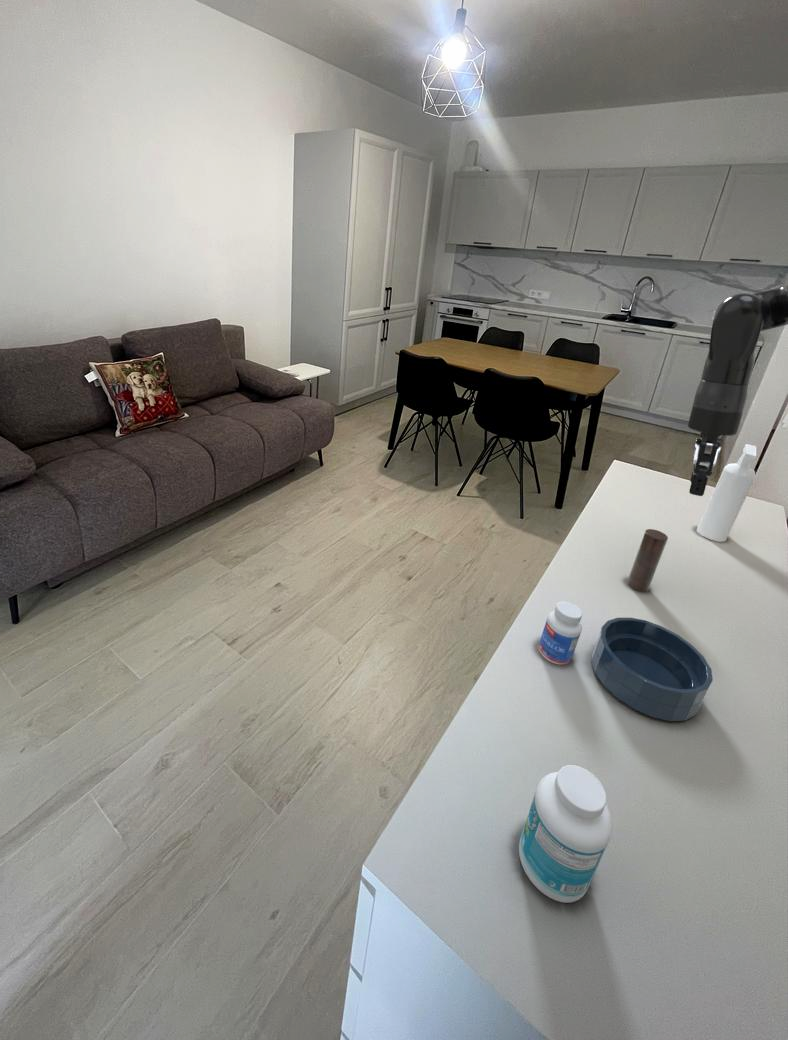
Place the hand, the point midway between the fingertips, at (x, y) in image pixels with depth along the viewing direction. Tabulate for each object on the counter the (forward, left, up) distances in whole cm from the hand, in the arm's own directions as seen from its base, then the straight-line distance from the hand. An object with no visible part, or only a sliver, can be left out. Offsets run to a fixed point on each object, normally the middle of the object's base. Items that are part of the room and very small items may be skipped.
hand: (696, 489), depth 96 cm
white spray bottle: (-1, -38, -24) cm, 45 cm away
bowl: (-7, +30, -24) cm, 39 cm away
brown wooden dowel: (+3, +3, -24) cm, 24 cm away
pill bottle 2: (-10, +67, -24) cm, 72 cm away
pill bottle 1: (+5, +36, -24) cm, 43 cm away
